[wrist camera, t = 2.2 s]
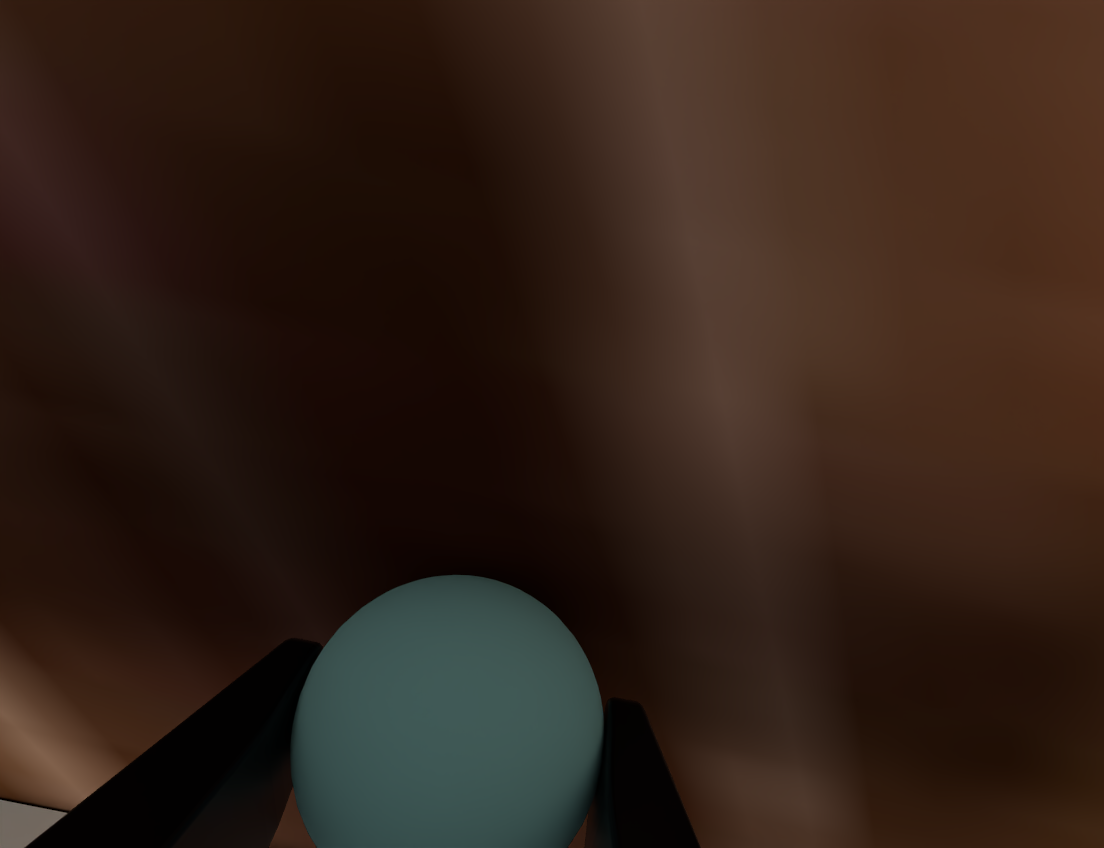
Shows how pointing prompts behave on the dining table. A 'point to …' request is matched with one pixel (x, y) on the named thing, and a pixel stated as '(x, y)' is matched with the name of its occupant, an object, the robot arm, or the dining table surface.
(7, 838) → the tray
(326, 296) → the dining table surface
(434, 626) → the ball
